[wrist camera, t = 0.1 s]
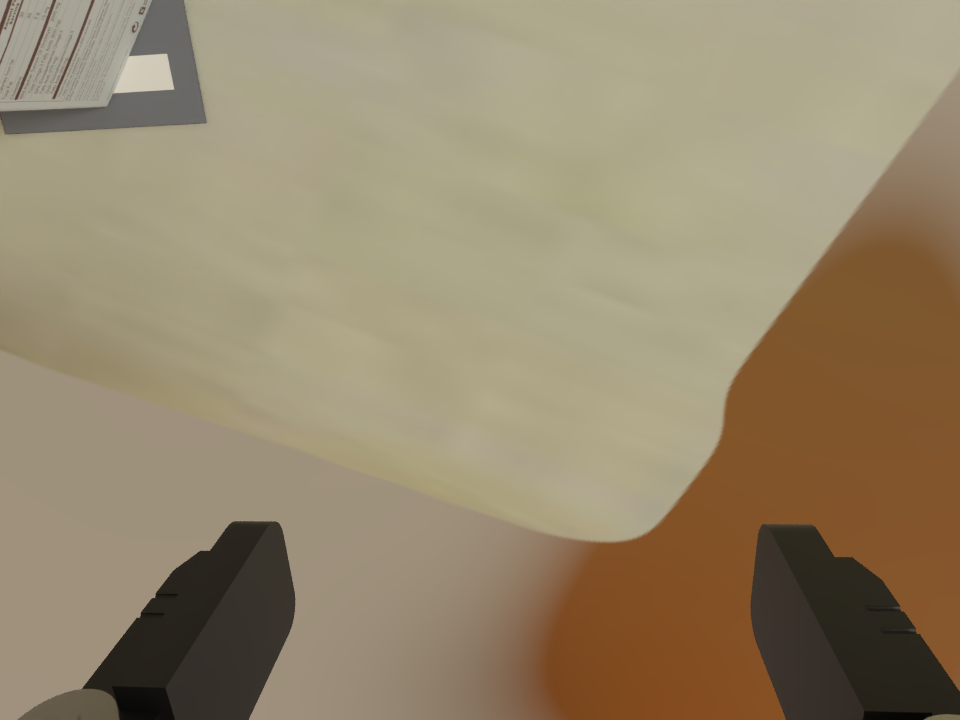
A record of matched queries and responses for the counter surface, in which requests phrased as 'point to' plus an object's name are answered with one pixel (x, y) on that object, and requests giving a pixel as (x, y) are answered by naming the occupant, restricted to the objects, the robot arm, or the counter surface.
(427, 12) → the counter surface
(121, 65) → the supplement box
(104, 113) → the letter mat
